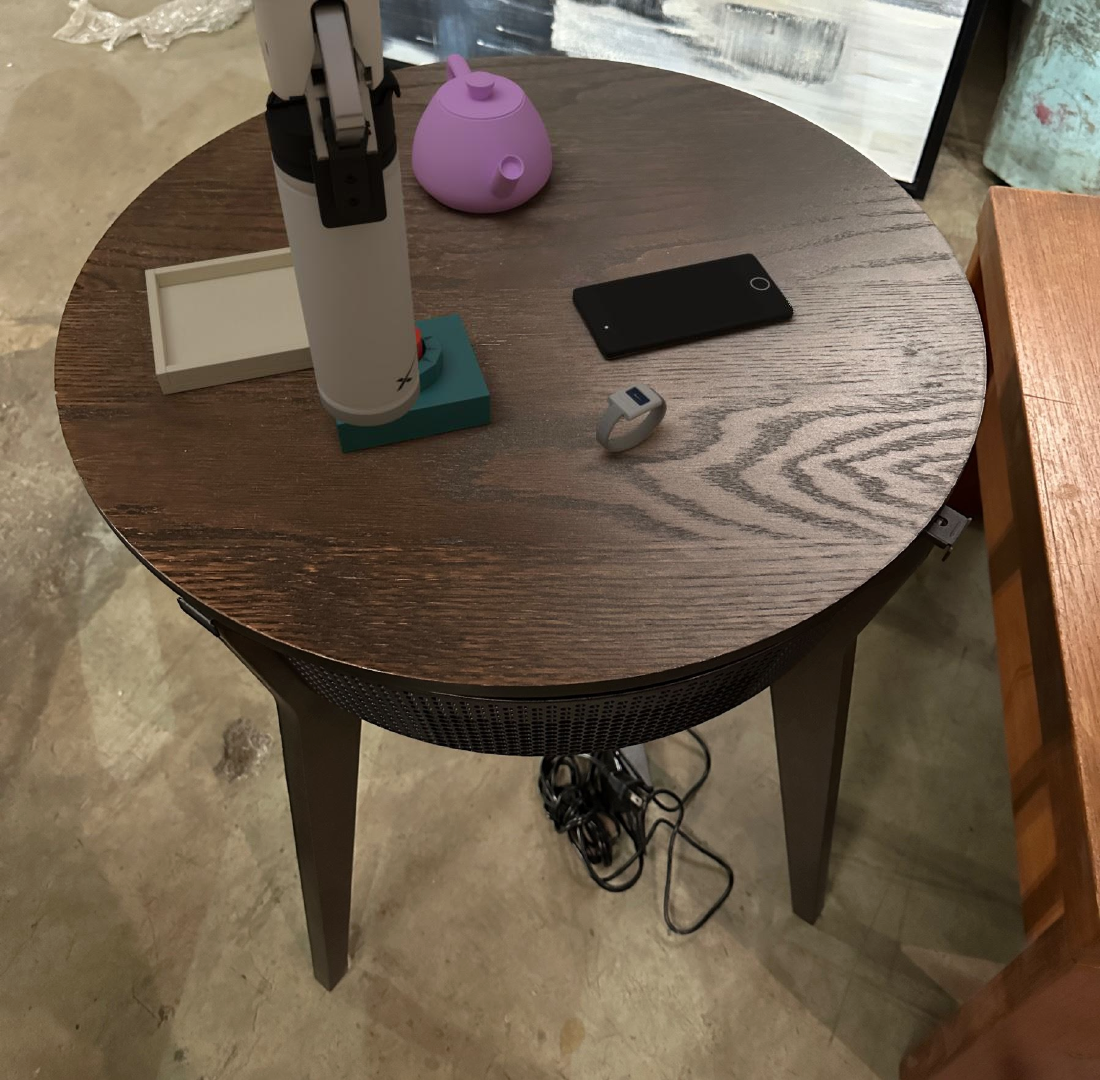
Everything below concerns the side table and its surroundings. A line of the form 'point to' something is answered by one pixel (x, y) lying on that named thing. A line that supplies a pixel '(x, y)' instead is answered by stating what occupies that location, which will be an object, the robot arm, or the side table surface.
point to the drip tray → (226, 320)
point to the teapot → (480, 143)
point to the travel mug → (349, 270)
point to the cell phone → (680, 305)
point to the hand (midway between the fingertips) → (342, 178)
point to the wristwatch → (631, 416)
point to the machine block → (433, 391)
